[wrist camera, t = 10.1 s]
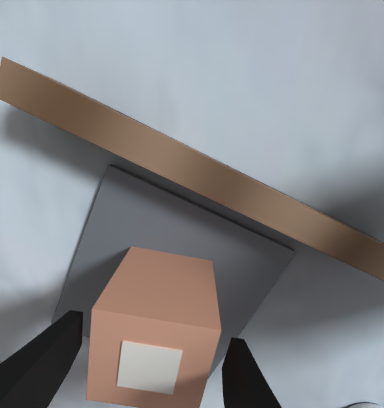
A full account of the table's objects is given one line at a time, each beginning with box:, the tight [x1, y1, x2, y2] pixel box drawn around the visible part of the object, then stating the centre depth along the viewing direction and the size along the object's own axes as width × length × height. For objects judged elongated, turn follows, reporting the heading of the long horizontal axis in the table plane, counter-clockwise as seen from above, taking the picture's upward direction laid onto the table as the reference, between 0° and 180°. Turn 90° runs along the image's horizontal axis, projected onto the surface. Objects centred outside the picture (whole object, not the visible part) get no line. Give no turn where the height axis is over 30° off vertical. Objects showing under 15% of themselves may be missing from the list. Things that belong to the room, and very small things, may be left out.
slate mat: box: [51, 164, 296, 380], centre depth 14 cm, size 12×12×1 cm
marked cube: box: [86, 246, 221, 408], centre depth 11 cm, size 5×5×5 cm
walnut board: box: [0, 57, 384, 281], centre depth 10 cm, size 20×2×3 cm, turn 64°
